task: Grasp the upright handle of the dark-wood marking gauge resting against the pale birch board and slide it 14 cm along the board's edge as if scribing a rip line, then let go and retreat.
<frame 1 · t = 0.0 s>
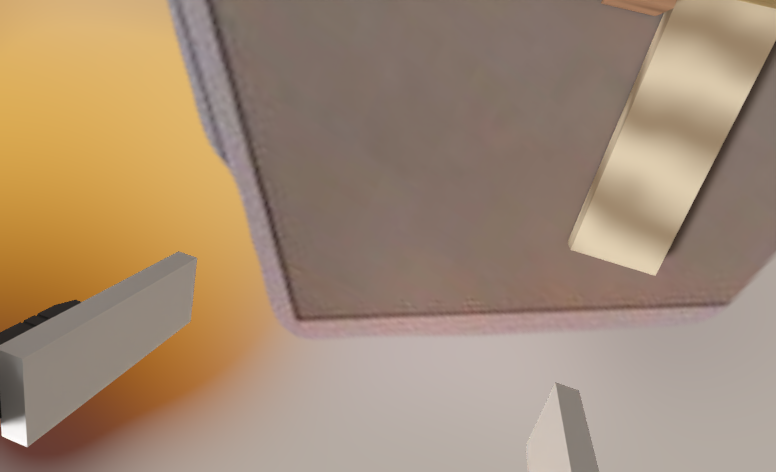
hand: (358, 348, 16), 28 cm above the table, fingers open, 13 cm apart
board: (670, 117, 36), on the table
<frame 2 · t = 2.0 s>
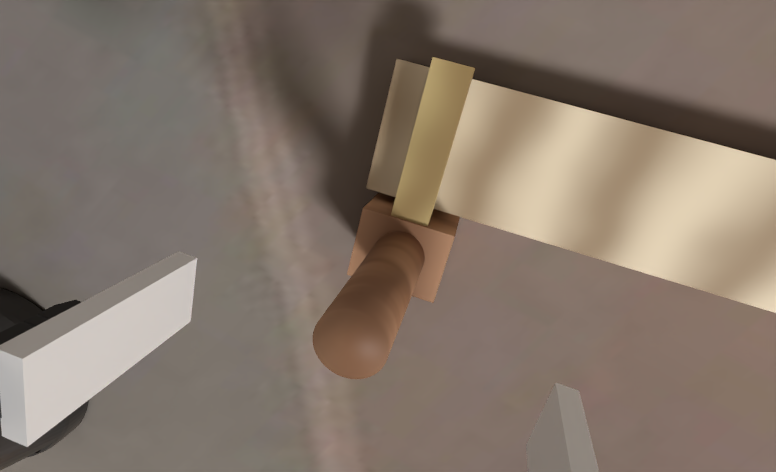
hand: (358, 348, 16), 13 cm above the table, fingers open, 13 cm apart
board: (596, 183, 25), on the table
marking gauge: (410, 197, 21), point 6 cm above the table, slide at 0.0 cm
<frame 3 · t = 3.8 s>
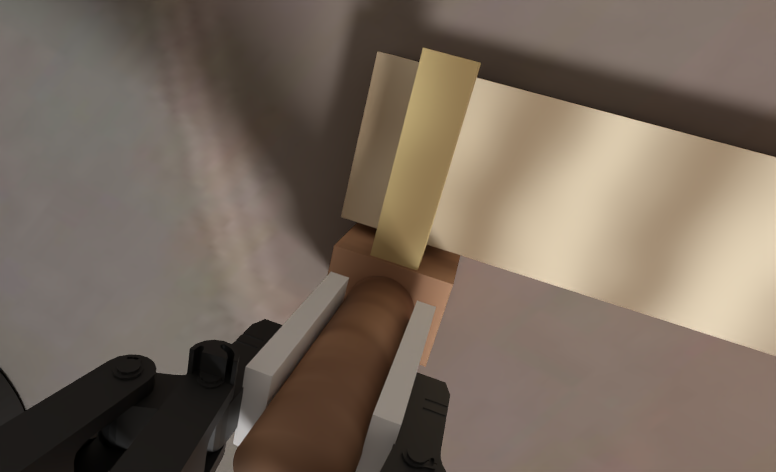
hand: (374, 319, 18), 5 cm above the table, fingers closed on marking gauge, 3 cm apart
board: (638, 212, 19), on the table
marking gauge: (390, 239, 15), point 7 cm above the table, slide at 0.0 cm, touching gripper
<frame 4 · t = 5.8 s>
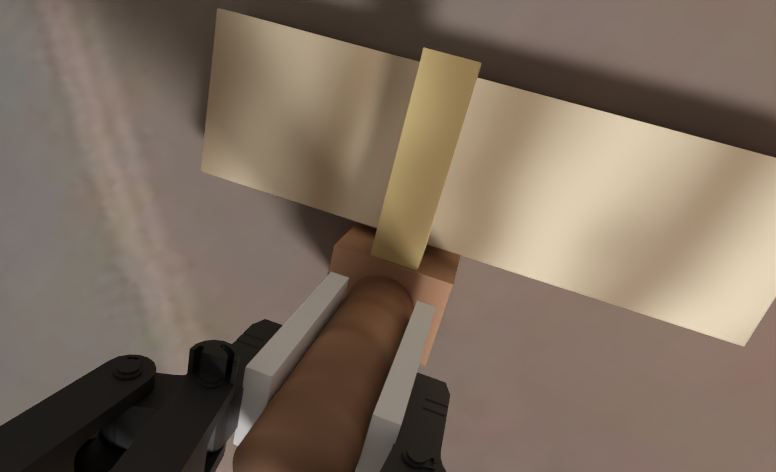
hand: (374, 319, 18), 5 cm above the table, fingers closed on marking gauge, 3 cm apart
board: (478, 165, 20), on the table
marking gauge: (390, 238, 15), point 7 cm above the table, slide at 7.0 cm, touching gripper
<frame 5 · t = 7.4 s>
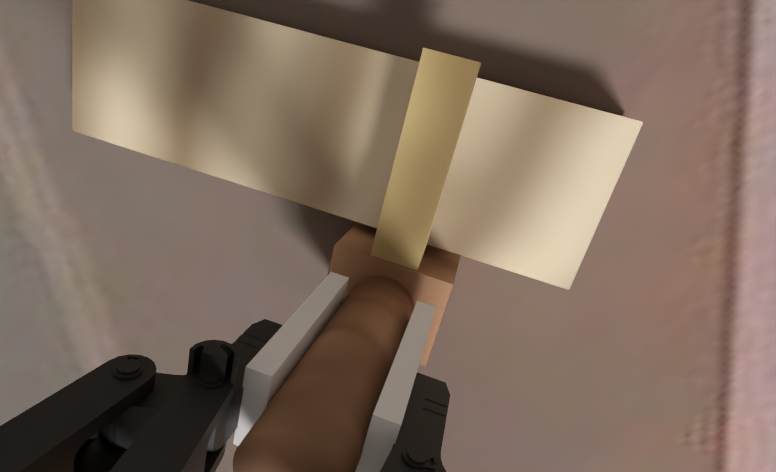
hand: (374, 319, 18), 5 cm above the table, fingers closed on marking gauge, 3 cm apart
board: (332, 123, 21), on the table
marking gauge: (390, 238, 15), point 7 cm above the table, slide at 13.9 cm, touching gripper
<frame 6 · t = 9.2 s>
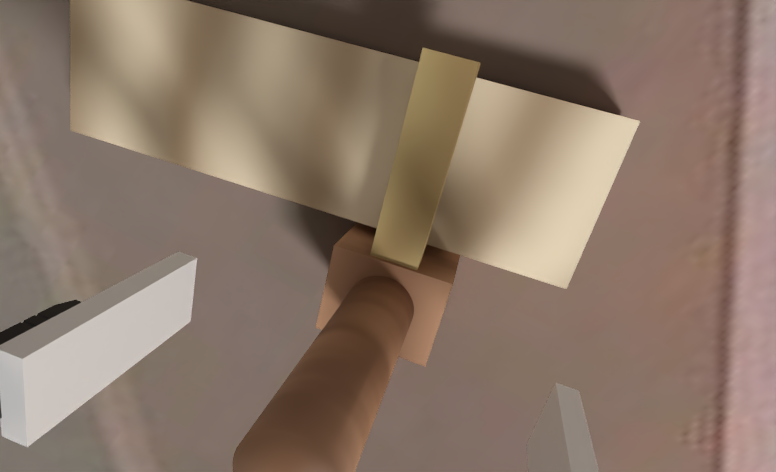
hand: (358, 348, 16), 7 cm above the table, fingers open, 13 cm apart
board: (330, 122, 21), on the table
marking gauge: (390, 238, 15), point 6 cm above the table, slide at 14.0 cm
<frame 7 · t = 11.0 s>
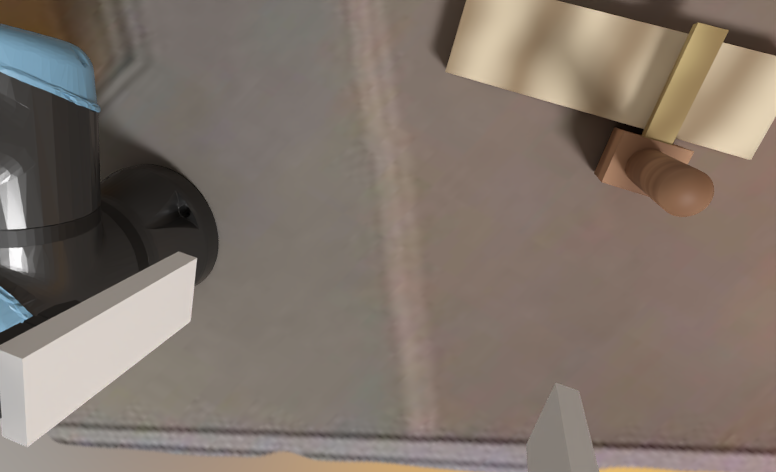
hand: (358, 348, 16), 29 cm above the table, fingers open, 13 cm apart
board: (604, 68, 37), on the table
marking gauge: (683, 116, 31), point 7 cm above the table, slide at 14.0 cm
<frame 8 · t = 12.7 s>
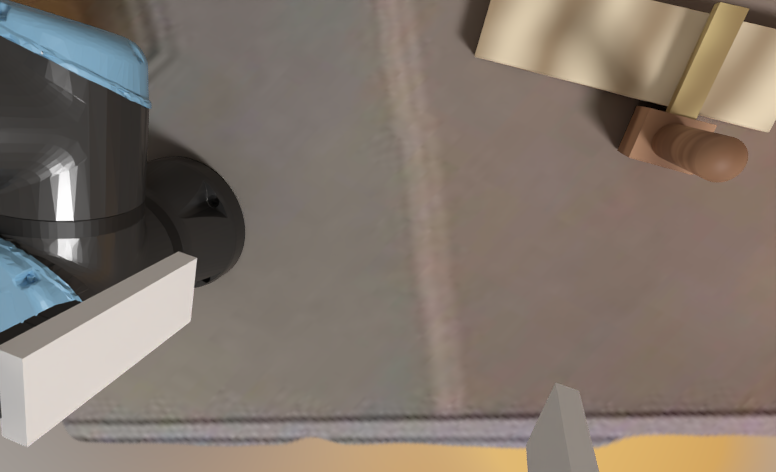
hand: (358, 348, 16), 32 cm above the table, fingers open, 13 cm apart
board: (627, 49, 39), on the table
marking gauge: (709, 91, 33), point 6 cm above the table, slide at 14.0 cm
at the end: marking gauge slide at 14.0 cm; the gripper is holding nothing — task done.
